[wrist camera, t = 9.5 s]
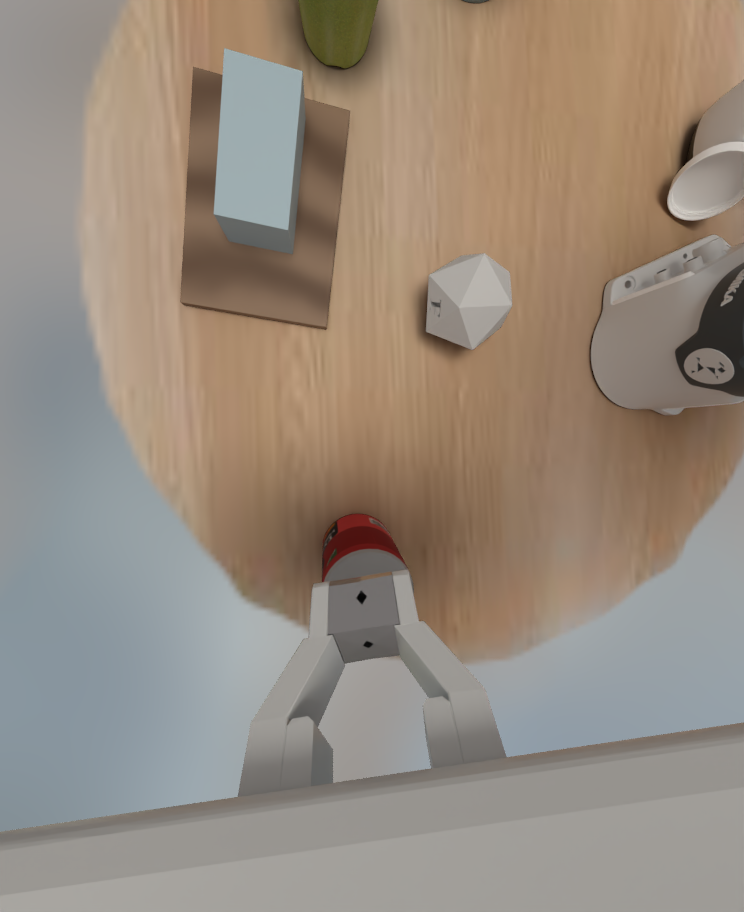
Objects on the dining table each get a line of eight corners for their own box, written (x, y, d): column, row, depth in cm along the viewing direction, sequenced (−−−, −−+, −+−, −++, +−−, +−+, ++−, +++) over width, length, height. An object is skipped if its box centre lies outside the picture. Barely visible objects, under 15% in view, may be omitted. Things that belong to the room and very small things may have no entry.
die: (437, 257, 36) (413, 255, 28) (522, 253, 33) (520, 250, 25) (432, 335, 40) (410, 352, 32) (507, 338, 37) (502, 358, 30)
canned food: (320, 514, 38) (318, 557, 27) (388, 508, 39) (413, 547, 28) (324, 576, 39) (325, 641, 28) (391, 569, 40) (416, 628, 29)
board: (326, 329, 35) (326, 327, 34) (184, 305, 33) (180, 302, 32) (349, 119, 32) (349, 110, 31) (197, 77, 30) (193, 66, 29)
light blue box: (288, 230, 28) (302, 69, 27) (213, 214, 27) (224, 46, 26) (292, 254, 32) (305, 117, 31) (229, 241, 31) (239, 99, 30)
